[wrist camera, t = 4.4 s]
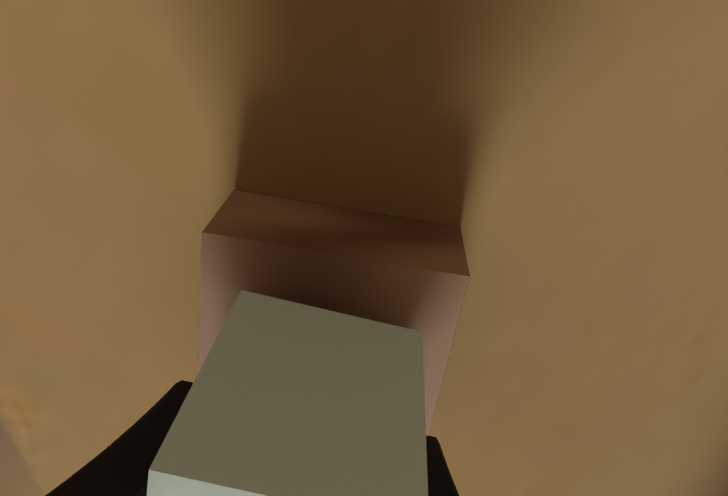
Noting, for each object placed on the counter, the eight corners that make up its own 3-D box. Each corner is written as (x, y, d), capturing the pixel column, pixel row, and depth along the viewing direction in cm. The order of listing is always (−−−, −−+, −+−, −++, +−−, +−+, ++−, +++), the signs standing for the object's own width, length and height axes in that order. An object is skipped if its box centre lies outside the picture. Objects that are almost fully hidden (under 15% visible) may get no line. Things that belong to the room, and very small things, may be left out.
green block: (422, 331, 13) (429, 531, 8) (379, 463, 15) (365, 687, 10) (241, 290, 13) (148, 469, 8) (219, 428, 14) (133, 638, 10)
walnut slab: (459, 222, 16) (470, 276, 13) (417, 397, 18) (418, 471, 16) (236, 185, 16) (202, 232, 13) (226, 366, 18) (194, 435, 16)
